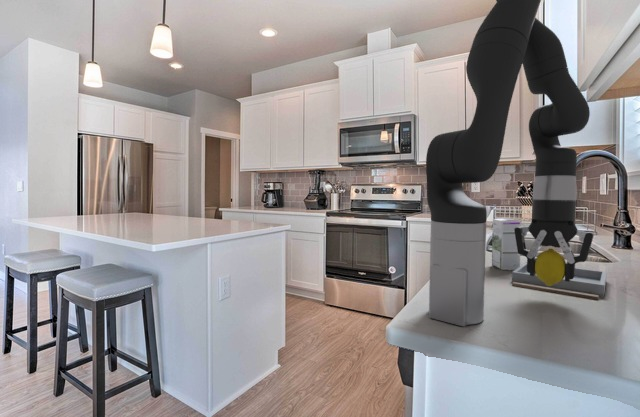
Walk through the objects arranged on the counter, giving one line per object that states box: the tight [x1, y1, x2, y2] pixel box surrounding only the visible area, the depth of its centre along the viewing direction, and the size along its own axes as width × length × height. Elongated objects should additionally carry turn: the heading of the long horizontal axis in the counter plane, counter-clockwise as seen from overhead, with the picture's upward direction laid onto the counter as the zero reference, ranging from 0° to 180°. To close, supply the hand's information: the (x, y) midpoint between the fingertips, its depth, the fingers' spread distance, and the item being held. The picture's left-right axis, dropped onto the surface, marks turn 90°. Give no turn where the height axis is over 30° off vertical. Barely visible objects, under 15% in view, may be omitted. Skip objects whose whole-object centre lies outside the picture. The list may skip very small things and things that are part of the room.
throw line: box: [511, 282, 600, 301], centre depth 77 cm, size 2×16×1 cm, turn 49°
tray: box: [511, 261, 608, 297], centre depth 85 cm, size 16×18×2 cm
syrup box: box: [491, 217, 522, 271], centre depth 100 cm, size 6×6×14 cm
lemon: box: [535, 248, 567, 286], centre depth 71 cm, size 6×6×8 cm
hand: (549, 277), depth 71 cm, fingers closed on lemon, 5 cm apart
